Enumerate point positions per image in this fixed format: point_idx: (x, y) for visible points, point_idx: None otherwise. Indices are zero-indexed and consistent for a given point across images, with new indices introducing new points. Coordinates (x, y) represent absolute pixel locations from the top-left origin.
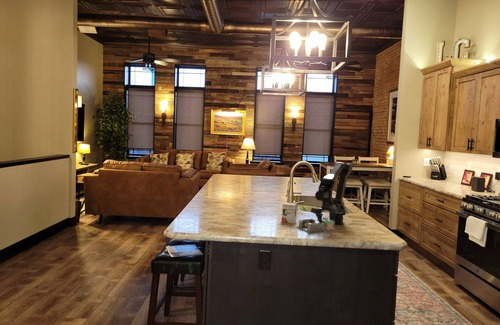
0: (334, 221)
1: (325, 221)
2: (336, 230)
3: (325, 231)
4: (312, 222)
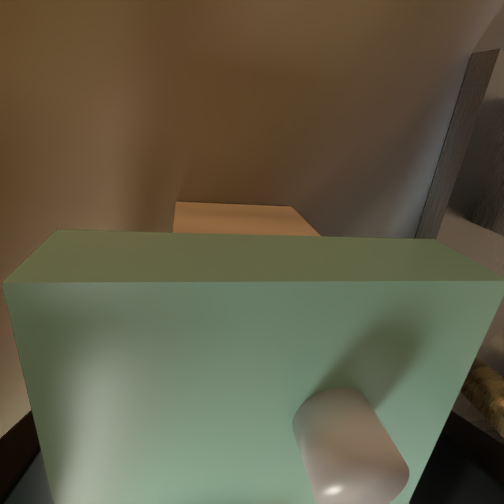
0: (10, 276)
1: (472, 339)
2: (91, 77)
3: (490, 51)
4: None
